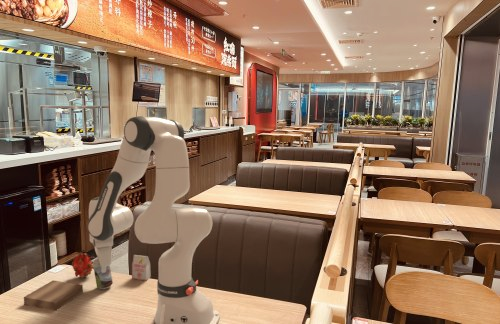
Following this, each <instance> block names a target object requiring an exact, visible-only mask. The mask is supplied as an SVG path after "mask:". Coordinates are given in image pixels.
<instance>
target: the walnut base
mask: <svg viewBox="0 0 500 324" xmlns="http://www.w3.org/2000/svg"><path fill="white" fill-rule="evenodd" d="M83 293H84V288H83V284H78V283H71V282H65V281H59V280H51V281H49V282H48V283H46V284H44V285H42V286H40V287H39V288H37V289H35V290H34V291H32V292H30V293H28V294H27V295H25V296H24V297H23V305H24V306H29V307H35V308H38V309H39V308H40V309H45V310H50V311H57V310H59V309H60V308H62V307H64V306H65V305H66V304H68V303H70V302H72V300H74V299H75V298H77V297H78V296H80V295H81V294H83Z"/></svg>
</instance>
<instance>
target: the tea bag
mask: <svg viewBox="0 0 500 324" xmlns="http://www.w3.org/2000/svg"><path fill="white" fill-rule="evenodd" d="M151 273H152V271H151V262H150V258H149V256H148V255H140V254H139V255H137V254H133V258H132V262H131V279H132V280H139V281H144V282H145V281H148V280H149V279H150V278H152V275H151Z"/></svg>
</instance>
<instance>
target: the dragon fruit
mask: <svg viewBox="0 0 500 324" xmlns="http://www.w3.org/2000/svg"><path fill="white" fill-rule="evenodd" d="M92 258H93V259H95V256H94V255H88V253H87V252H86V249H85V250H84V249H82V250H81V251H80V252H79V253H78V255H76V256H74V258H73V261H71V262H72V263H71V266H72V269H73V271H74V275H75V277H79V278H81V279H82V278H85V277H88V276H89V275H91V273H92V271H93V270H94V267H93V264H94V261H93V260H91V259H92Z"/></svg>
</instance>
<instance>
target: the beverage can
mask: <svg viewBox="0 0 500 324" xmlns="http://www.w3.org/2000/svg"><path fill="white" fill-rule="evenodd" d="M93 262H94V263H93V264H92V265H93V267H94V269H93V272H94V278H95V284H96V288H97V289H100V290H105V289H108V288H110V287H112V285H113V284H114V283H113V282H114V281H113V277H112V270H111V265H110V266H107V267H106V272H104V273H102V272H101V266H100V263H99V260H98V258H96V259H95V260H94V261H93Z"/></svg>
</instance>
